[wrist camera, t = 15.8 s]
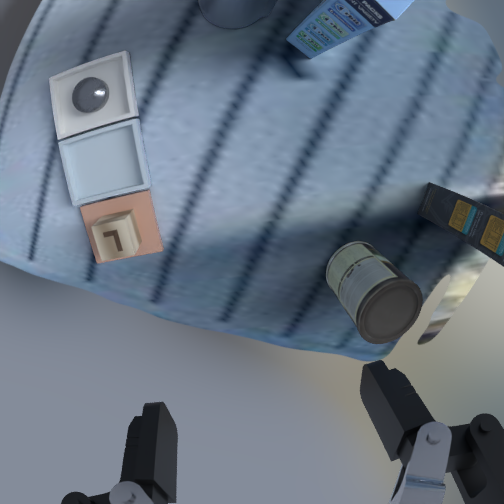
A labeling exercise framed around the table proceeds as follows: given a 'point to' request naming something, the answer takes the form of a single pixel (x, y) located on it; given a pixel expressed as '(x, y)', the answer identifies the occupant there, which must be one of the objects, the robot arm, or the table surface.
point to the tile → (143, 216)
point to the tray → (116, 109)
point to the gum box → (342, 22)
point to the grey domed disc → (90, 95)
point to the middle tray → (105, 162)
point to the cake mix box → (465, 220)
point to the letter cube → (117, 235)
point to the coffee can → (373, 292)
